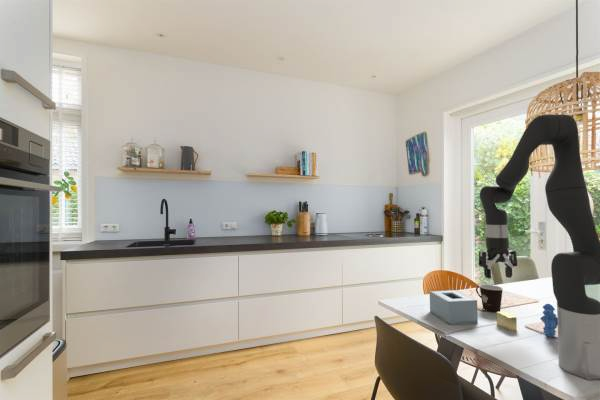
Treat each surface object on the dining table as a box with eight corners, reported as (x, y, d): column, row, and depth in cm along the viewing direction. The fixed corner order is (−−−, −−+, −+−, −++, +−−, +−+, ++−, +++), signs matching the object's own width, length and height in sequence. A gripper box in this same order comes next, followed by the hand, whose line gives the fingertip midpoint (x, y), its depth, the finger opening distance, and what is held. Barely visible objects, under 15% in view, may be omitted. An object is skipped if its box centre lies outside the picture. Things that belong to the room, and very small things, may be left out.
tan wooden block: (516, 330, 110) (516, 317, 110) (509, 331, 109) (508, 317, 109) (504, 324, 116) (503, 311, 116) (496, 324, 115) (496, 311, 115)
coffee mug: (507, 314, 125) (506, 290, 126) (484, 313, 127) (484, 289, 127) (494, 304, 137) (494, 283, 137) (474, 304, 139) (473, 282, 139)
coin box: (477, 323, 117) (477, 300, 117) (448, 324, 116) (448, 301, 116) (456, 310, 131) (455, 290, 131) (430, 311, 130) (429, 291, 130)
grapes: (567, 347, 97) (566, 310, 97) (541, 341, 101) (540, 306, 101) (564, 334, 106) (563, 300, 106) (540, 329, 110) (539, 297, 110)
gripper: (486, 237, 111) (488, 280, 111) (521, 236, 113) (523, 279, 112) (473, 235, 119) (474, 276, 118) (506, 234, 120) (507, 275, 120)
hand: (498, 277), depth 115 cm, fingers open, 8 cm apart
